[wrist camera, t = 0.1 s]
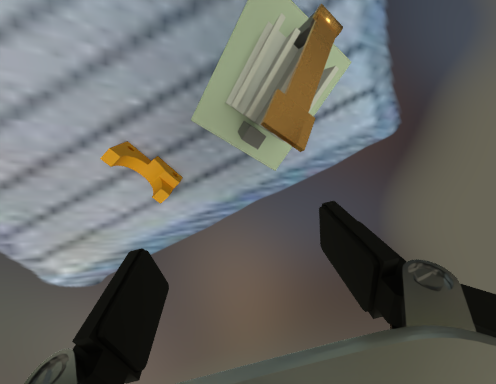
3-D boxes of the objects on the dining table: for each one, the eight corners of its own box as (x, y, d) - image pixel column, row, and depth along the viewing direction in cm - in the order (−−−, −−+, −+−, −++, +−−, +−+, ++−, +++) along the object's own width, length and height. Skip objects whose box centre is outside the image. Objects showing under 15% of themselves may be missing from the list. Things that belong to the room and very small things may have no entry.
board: (260, -25, 28) (279, -90, 18) (347, 63, 34) (393, 48, 25) (191, 119, 35) (180, 125, 26) (273, 169, 42) (288, 187, 32)
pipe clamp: (182, 177, 40) (175, 189, 34) (169, 189, 41) (160, 203, 35) (133, 134, 35) (116, 140, 29) (119, 150, 36) (100, 158, 30)
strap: (309, 8, 22) (318, -5, 21) (338, 38, 23) (347, 28, 22) (258, 126, 17) (265, 119, 16) (297, 153, 19) (307, 148, 18)
